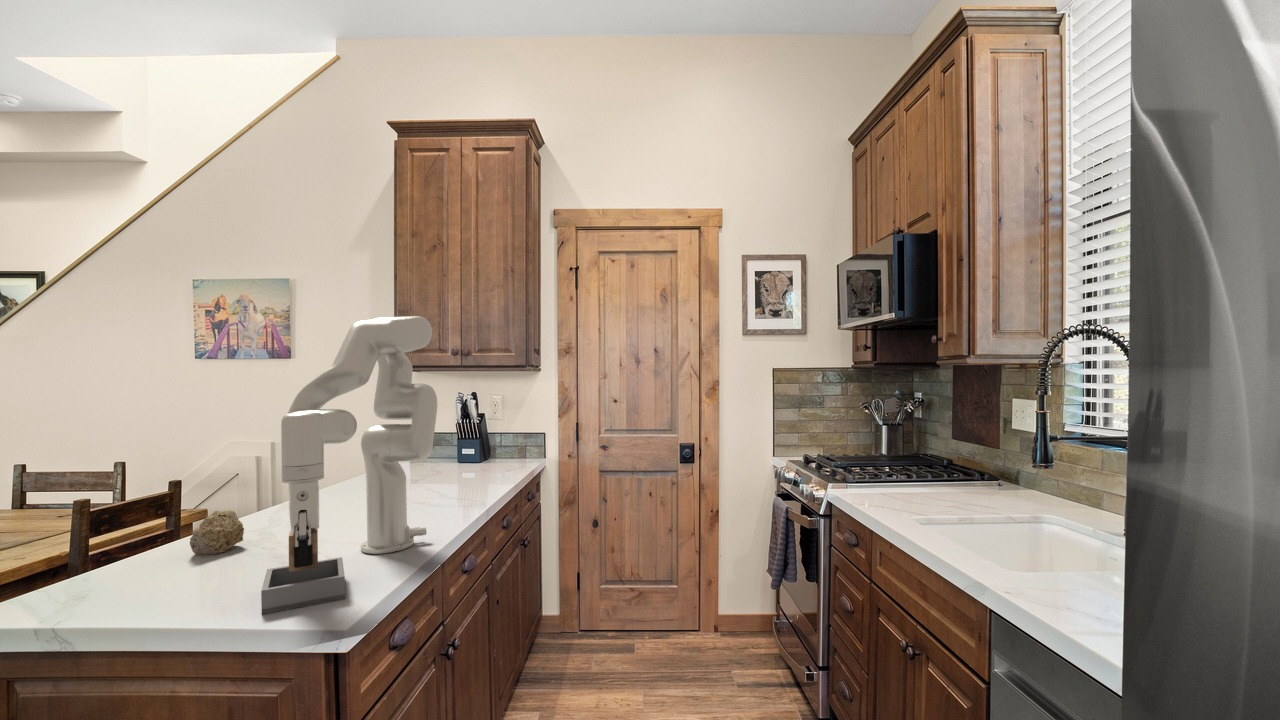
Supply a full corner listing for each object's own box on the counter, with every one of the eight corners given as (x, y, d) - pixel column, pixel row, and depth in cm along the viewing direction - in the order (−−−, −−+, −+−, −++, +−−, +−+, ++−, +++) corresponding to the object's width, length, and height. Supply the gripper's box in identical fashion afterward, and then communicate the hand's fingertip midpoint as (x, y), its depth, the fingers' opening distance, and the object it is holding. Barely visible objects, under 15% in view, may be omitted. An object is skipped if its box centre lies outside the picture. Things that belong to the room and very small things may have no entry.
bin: (342, 577, 128) (342, 557, 128) (345, 598, 116) (344, 576, 116) (267, 590, 121) (267, 569, 121) (261, 614, 109) (261, 590, 109)
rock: (256, 523, 154) (228, 502, 156) (211, 540, 142) (182, 518, 144) (241, 555, 156) (214, 535, 158) (196, 576, 144) (167, 553, 146)
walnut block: (317, 560, 122) (317, 527, 122) (317, 567, 117) (317, 532, 118) (290, 564, 119) (289, 530, 120) (288, 571, 115) (288, 536, 115)
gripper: (324, 476, 113) (325, 570, 113) (323, 465, 128) (324, 548, 128) (279, 481, 110) (279, 578, 109) (283, 469, 125) (284, 554, 124)
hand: (303, 561), depth 118 cm, fingers closed on walnut block, 5 cm apart
